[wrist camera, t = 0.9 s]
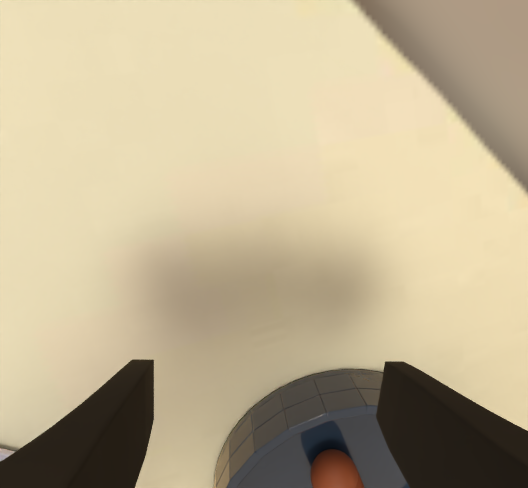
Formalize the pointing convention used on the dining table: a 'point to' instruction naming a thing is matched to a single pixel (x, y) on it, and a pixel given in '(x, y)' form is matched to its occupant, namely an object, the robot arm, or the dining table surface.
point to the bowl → (310, 434)
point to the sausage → (334, 471)
